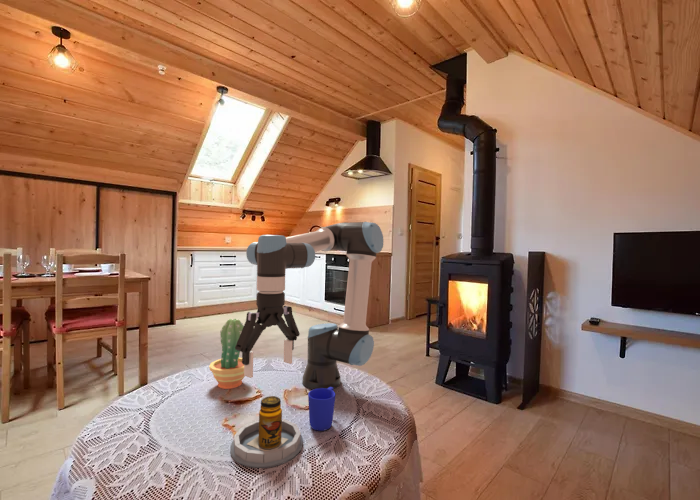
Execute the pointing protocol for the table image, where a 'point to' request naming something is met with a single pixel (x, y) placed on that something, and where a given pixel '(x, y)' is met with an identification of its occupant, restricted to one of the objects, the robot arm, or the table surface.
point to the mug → (321, 408)
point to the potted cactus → (229, 357)
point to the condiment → (269, 425)
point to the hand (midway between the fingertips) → (269, 369)
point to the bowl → (265, 458)
